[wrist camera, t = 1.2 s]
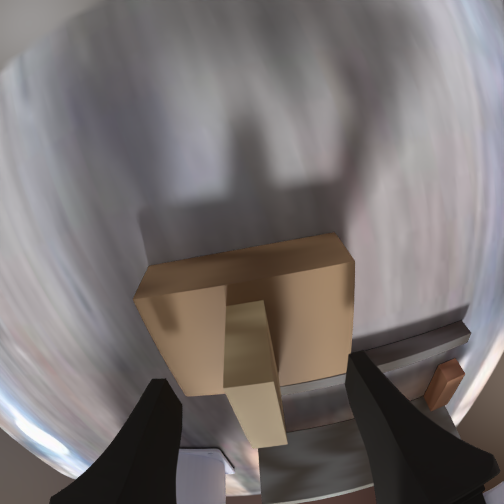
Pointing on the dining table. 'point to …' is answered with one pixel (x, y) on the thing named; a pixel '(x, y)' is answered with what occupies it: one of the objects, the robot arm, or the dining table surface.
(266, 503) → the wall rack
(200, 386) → the tan box with handle
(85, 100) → the dining table surface
